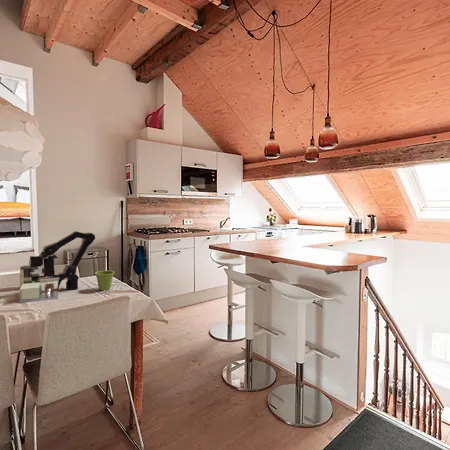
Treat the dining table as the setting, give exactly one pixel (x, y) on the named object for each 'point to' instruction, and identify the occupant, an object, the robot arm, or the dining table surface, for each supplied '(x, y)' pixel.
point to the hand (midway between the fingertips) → (49, 290)
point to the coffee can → (28, 274)
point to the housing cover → (30, 291)
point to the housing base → (43, 296)
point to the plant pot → (104, 279)
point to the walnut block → (49, 287)
